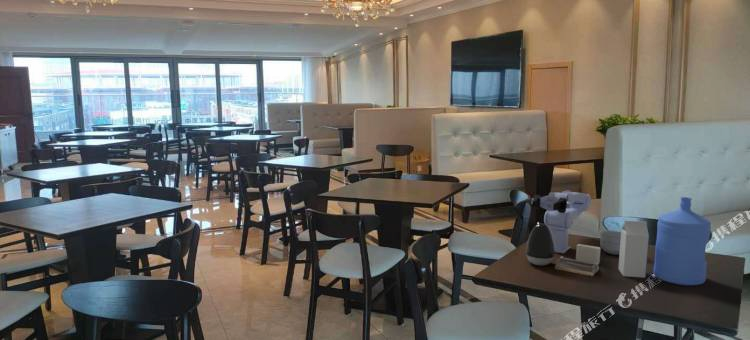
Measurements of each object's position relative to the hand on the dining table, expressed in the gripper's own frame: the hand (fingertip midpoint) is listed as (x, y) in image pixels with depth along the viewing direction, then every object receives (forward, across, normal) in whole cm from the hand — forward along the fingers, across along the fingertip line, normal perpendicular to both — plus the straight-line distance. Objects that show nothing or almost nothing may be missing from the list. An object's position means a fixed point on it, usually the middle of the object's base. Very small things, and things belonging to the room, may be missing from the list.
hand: (543, 205), depth 196 cm
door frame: (-2, +13, +22) cm, 25 cm away
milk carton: (-8, +30, +21) cm, 38 cm away
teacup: (-30, +21, +20) cm, 41 cm away
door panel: (-13, +14, +21) cm, 28 cm away
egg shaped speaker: (0, 0, +22) cm, 22 cm away
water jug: (-13, +44, +21) cm, 50 cm away
